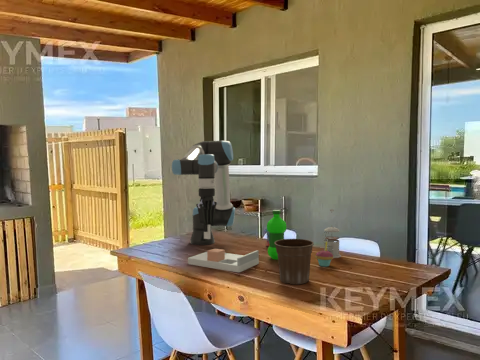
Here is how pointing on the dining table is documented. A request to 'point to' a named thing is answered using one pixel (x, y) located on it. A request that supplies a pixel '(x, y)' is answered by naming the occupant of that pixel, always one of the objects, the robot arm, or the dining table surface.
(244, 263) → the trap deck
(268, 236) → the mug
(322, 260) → the cupcake
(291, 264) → the plant pot
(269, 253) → the plastic bottle
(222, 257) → the block
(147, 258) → the dining table surface
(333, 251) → the french press
